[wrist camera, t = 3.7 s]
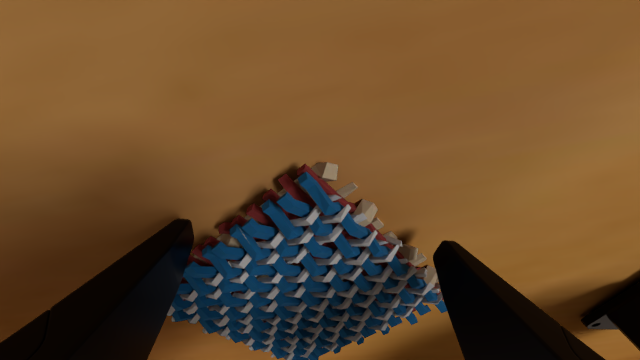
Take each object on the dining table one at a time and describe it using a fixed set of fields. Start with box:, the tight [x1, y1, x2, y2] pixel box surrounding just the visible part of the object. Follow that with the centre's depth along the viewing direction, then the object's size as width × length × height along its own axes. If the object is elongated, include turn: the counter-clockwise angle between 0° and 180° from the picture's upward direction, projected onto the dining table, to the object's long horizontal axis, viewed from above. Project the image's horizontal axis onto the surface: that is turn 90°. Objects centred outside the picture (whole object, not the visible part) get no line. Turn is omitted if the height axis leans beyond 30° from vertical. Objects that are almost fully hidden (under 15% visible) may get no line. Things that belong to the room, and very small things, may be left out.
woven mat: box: [167, 162, 447, 360], centre depth 12 cm, size 10×11×2 cm
